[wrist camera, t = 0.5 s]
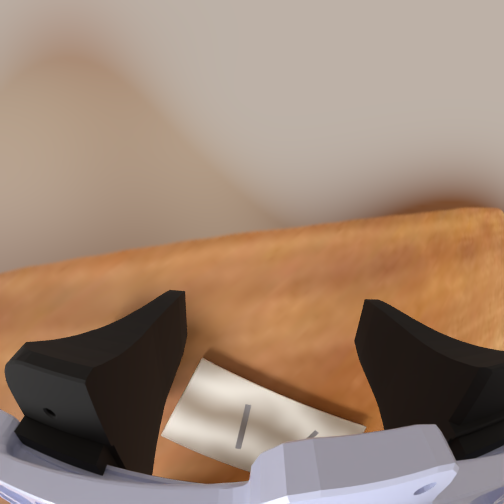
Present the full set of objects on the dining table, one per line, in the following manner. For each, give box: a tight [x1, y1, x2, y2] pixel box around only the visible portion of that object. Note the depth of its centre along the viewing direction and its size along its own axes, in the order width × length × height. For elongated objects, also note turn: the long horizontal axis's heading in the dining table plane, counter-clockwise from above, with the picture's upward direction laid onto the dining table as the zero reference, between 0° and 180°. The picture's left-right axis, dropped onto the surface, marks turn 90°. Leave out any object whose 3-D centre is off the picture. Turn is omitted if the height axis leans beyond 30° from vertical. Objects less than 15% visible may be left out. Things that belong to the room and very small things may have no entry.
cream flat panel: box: [161, 358, 366, 472], centre depth 32 cm, size 11×24×1 cm, turn 62°
